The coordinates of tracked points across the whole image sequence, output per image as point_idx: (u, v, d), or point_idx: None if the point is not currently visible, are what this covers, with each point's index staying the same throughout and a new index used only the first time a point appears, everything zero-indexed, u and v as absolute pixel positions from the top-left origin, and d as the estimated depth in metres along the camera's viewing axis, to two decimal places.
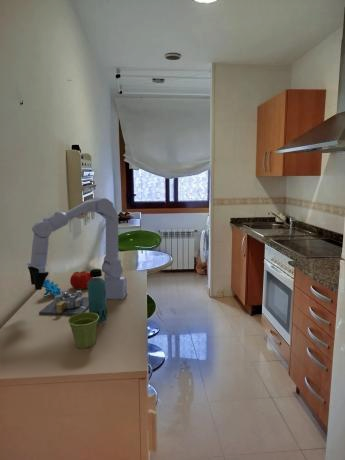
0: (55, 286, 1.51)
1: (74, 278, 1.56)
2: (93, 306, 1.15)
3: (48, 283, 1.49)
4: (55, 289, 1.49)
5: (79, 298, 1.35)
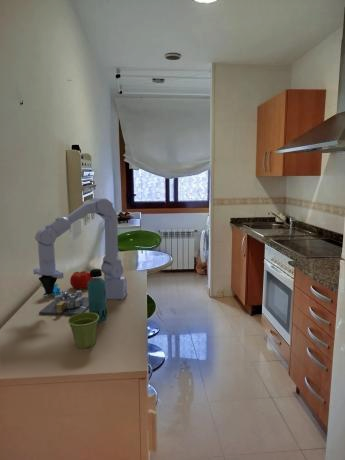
0: (55, 286, 1.51)
1: (74, 278, 1.56)
2: (93, 306, 1.15)
3: None
4: (55, 289, 1.49)
5: (79, 298, 1.35)
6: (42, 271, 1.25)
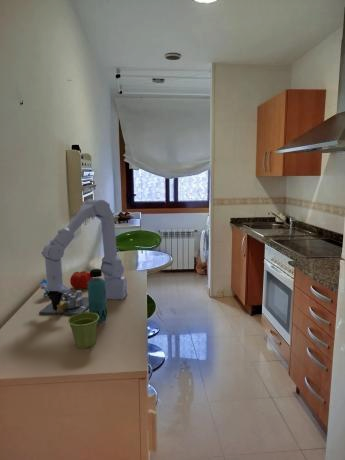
0: None
1: (74, 278, 1.56)
2: (93, 306, 1.15)
3: None
4: None
5: (79, 298, 1.35)
6: (49, 287, 1.25)
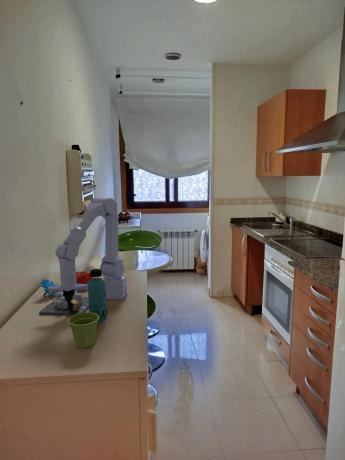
0: None
1: None
2: (93, 306, 1.15)
3: (47, 283, 1.49)
4: None
5: None
6: (68, 286, 1.24)
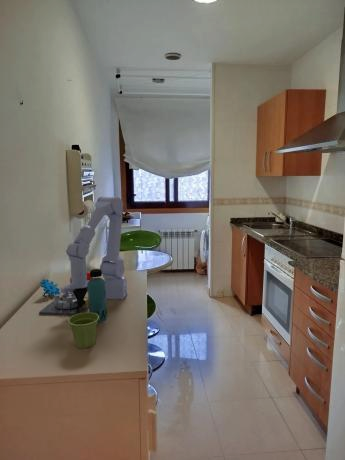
0: (54, 286, 1.52)
1: None
2: (93, 306, 1.15)
3: (47, 283, 1.49)
4: (54, 289, 1.49)
5: None
6: (83, 283, 1.28)
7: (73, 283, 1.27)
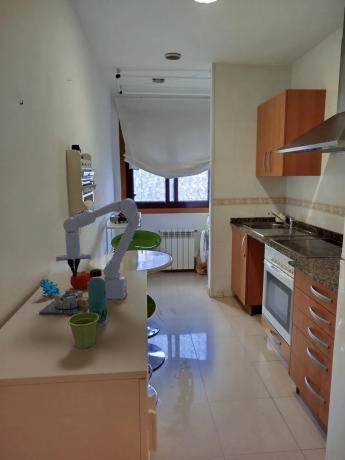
0: (54, 286, 1.52)
1: (74, 278, 1.56)
2: (93, 306, 1.15)
3: (47, 283, 1.49)
4: (53, 289, 1.49)
5: (76, 294, 1.40)
6: (74, 255, 1.41)
7: None
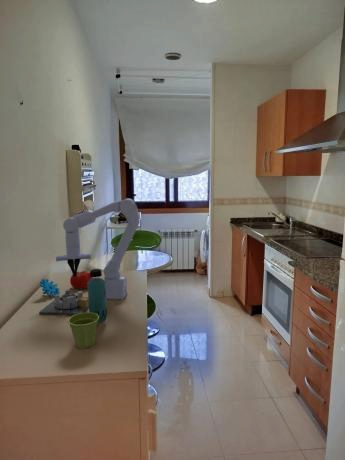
0: (54, 286, 1.52)
1: (74, 278, 1.56)
2: (93, 306, 1.15)
3: (46, 283, 1.49)
4: (53, 289, 1.49)
5: (76, 294, 1.40)
6: (74, 255, 1.41)
7: None
